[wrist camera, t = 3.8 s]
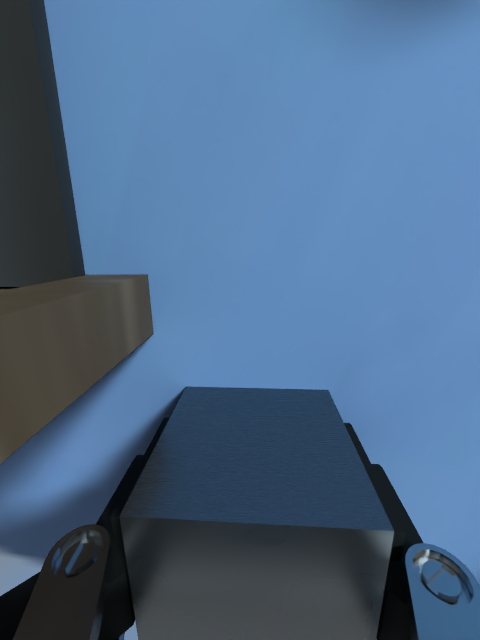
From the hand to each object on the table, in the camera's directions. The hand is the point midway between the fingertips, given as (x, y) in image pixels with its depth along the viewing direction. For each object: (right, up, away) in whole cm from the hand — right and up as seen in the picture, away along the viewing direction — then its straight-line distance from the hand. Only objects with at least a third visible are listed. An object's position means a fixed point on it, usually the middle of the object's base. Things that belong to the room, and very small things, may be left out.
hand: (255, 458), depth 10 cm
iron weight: (0, 0, +1) cm, 1 cm away
